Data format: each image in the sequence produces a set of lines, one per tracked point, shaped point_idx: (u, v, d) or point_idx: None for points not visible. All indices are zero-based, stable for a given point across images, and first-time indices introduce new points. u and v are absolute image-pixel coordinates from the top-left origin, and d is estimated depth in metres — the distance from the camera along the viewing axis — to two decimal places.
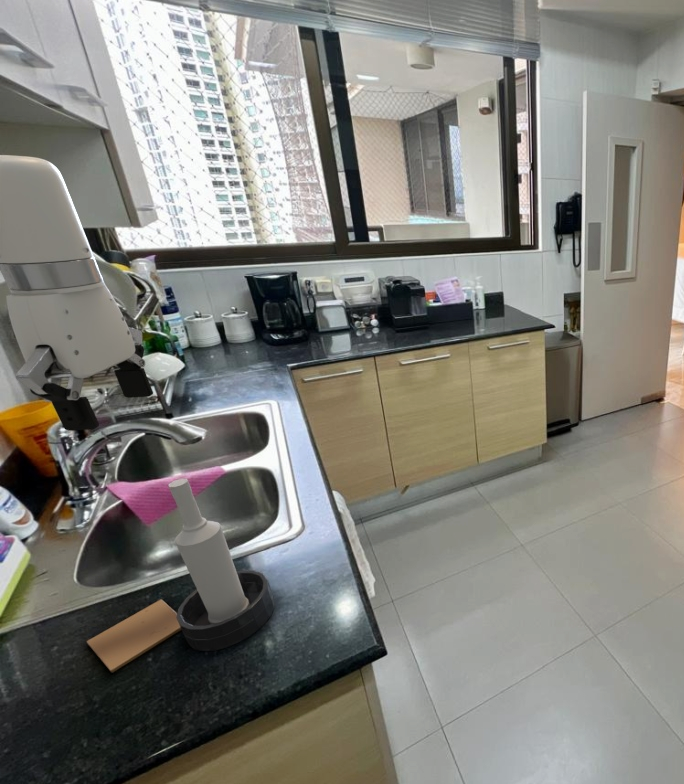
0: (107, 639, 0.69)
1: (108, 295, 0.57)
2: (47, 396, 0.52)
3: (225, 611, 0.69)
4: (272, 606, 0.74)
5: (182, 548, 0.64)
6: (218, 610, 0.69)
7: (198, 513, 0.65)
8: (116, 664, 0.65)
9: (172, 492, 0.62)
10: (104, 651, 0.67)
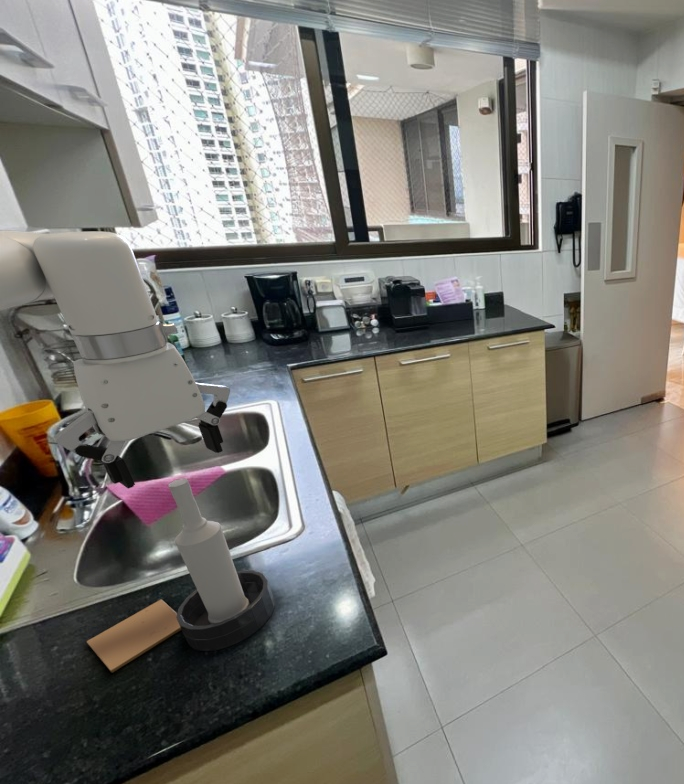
0: (107, 639, 0.69)
1: (173, 360, 0.58)
2: None
3: (225, 611, 0.69)
4: (272, 606, 0.74)
5: (182, 548, 0.64)
6: (218, 610, 0.69)
7: (198, 513, 0.65)
8: (116, 664, 0.65)
9: (172, 492, 0.62)
10: (104, 651, 0.67)
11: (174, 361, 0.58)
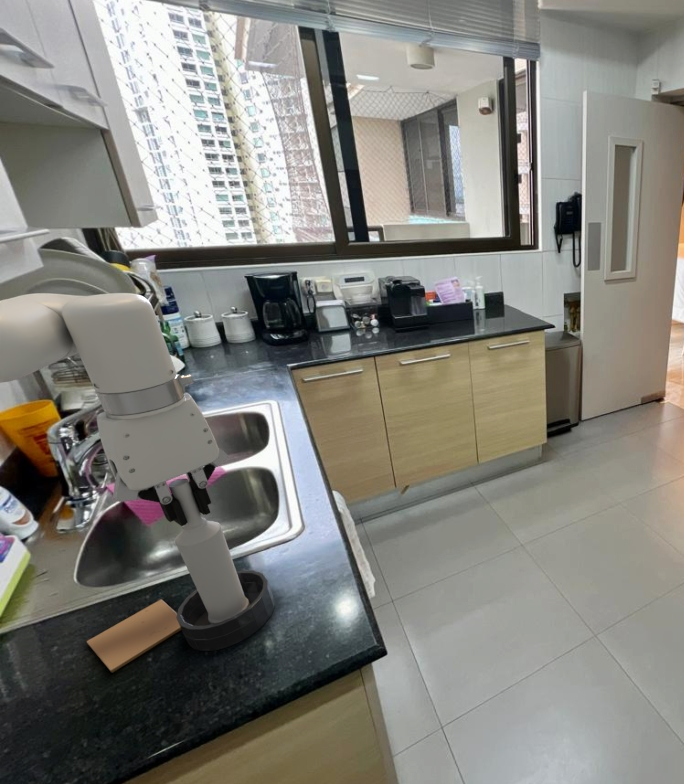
0: (107, 639, 0.69)
1: (190, 411, 0.60)
2: None
3: (225, 611, 0.69)
4: (272, 606, 0.74)
5: (182, 548, 0.64)
6: (218, 610, 0.69)
7: (198, 513, 0.65)
8: (116, 664, 0.65)
9: (172, 492, 0.62)
10: (104, 651, 0.67)
11: (191, 411, 0.60)
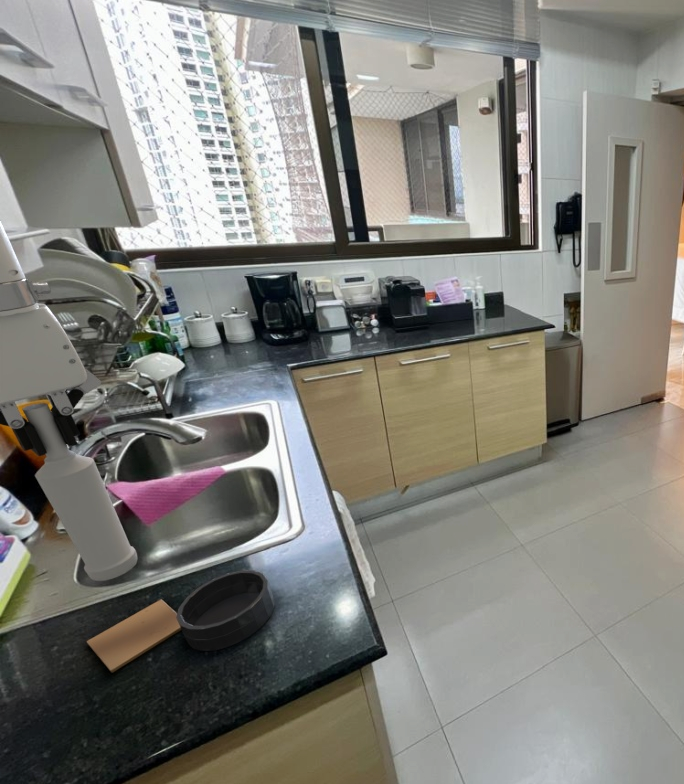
0: (107, 639, 0.69)
1: (43, 322, 0.53)
2: None
3: (101, 558, 0.62)
4: (272, 606, 0.74)
5: (41, 482, 0.57)
6: (92, 558, 0.62)
7: (62, 444, 0.57)
8: (116, 664, 0.65)
9: (27, 416, 0.55)
10: (104, 651, 0.67)
11: (45, 323, 0.53)
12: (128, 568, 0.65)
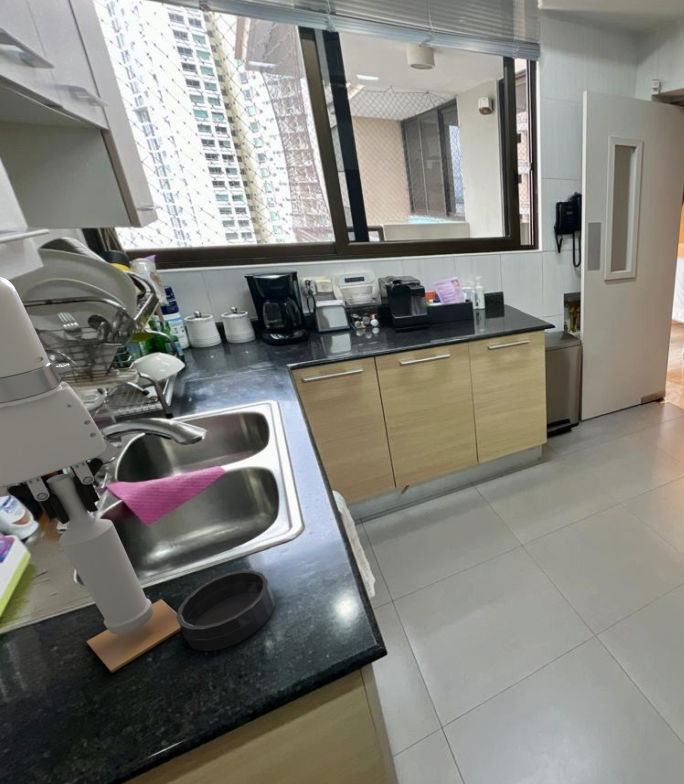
0: (107, 639, 0.69)
1: (66, 401, 0.57)
2: None
3: (120, 614, 0.66)
4: (272, 606, 0.74)
5: (65, 547, 0.60)
6: (112, 614, 0.65)
7: (83, 510, 0.61)
8: (116, 664, 0.65)
9: (51, 488, 0.58)
10: (104, 651, 0.67)
11: (67, 402, 0.57)
12: (145, 621, 0.68)
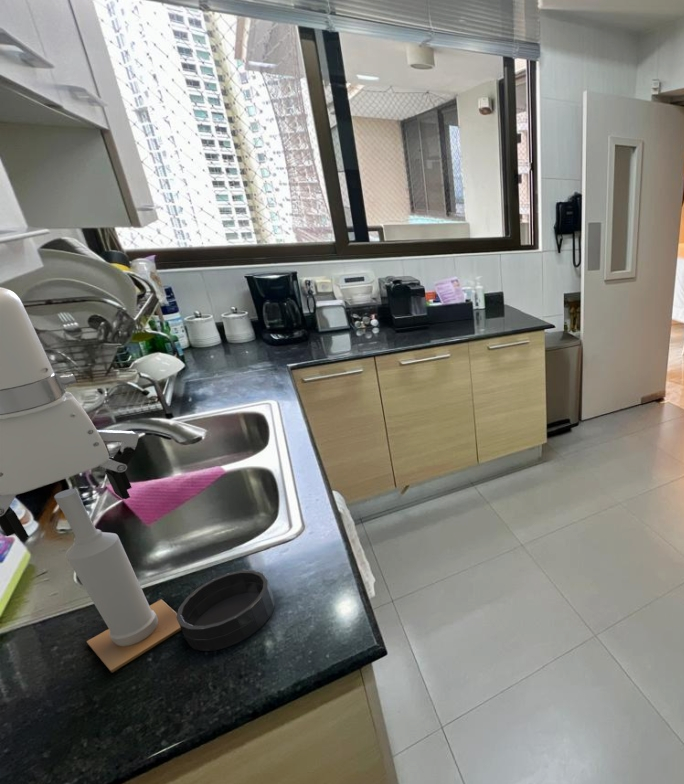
0: (107, 639, 0.69)
1: (70, 411, 0.57)
2: None
3: (126, 626, 0.67)
4: (272, 606, 0.74)
5: (72, 561, 0.61)
6: (117, 626, 0.66)
7: (90, 525, 0.62)
8: (116, 664, 0.65)
9: (58, 503, 0.59)
10: (104, 651, 0.67)
11: (71, 412, 0.57)
12: (150, 632, 0.69)
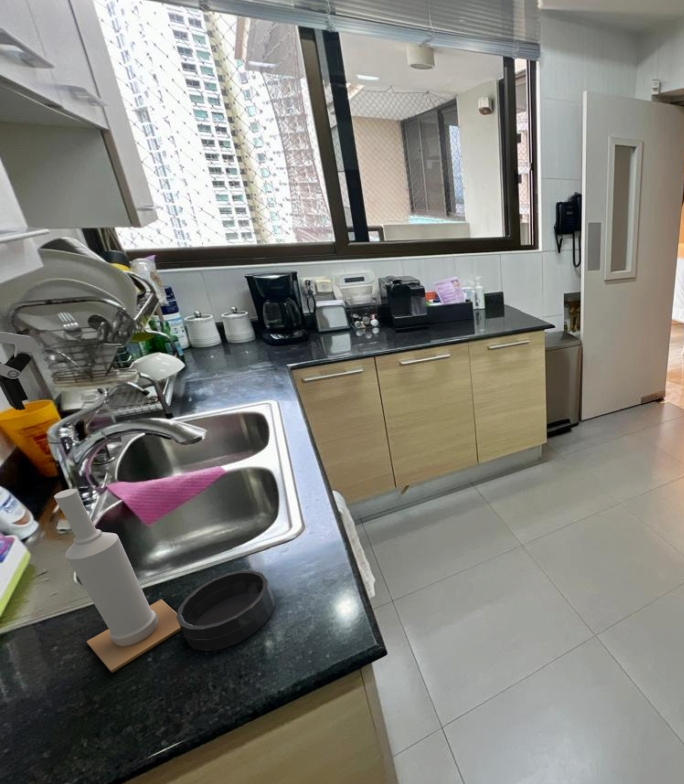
0: (107, 639, 0.69)
1: None
2: None
3: (126, 626, 0.67)
4: (272, 606, 0.74)
5: (72, 561, 0.61)
6: (117, 626, 0.66)
7: (90, 525, 0.62)
8: (116, 664, 0.65)
9: (58, 503, 0.59)
10: (104, 651, 0.67)
11: None
12: (150, 632, 0.69)
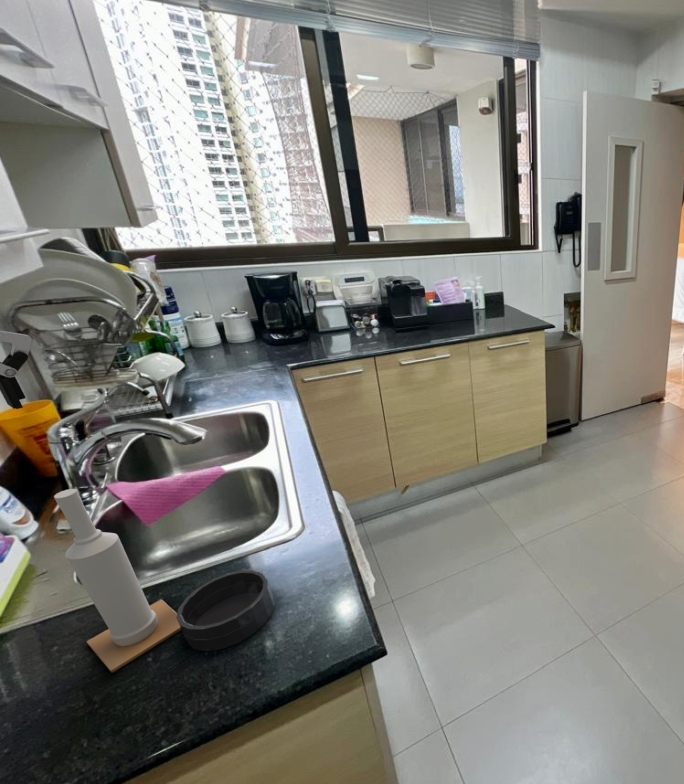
0: (107, 639, 0.69)
1: None
2: None
3: (126, 626, 0.67)
4: (272, 606, 0.74)
5: (72, 561, 0.61)
6: (117, 626, 0.66)
7: (90, 525, 0.62)
8: (116, 664, 0.65)
9: (58, 503, 0.59)
10: (104, 651, 0.67)
11: None
12: (150, 632, 0.69)
